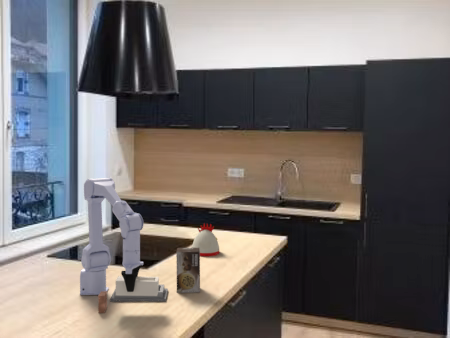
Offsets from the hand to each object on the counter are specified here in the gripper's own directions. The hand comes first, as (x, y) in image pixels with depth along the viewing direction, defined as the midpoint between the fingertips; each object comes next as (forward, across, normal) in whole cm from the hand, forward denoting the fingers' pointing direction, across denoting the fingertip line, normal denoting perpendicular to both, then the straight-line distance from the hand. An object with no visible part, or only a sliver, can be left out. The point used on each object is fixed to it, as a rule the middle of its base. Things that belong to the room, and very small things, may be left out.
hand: (131, 288), depth 183 cm
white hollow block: (+2, 0, -2) cm, 3 cm away
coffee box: (+8, +23, -19) cm, 31 cm away
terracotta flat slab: (+8, +1, +10) cm, 13 cm away
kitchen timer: (+8, +82, -26) cm, 86 cm away
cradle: (+8, +16, -1) cm, 18 cm away
